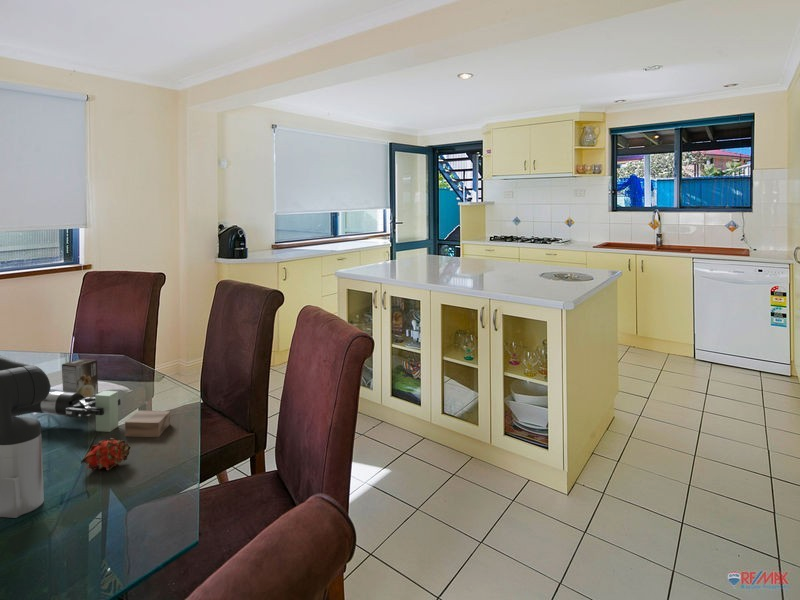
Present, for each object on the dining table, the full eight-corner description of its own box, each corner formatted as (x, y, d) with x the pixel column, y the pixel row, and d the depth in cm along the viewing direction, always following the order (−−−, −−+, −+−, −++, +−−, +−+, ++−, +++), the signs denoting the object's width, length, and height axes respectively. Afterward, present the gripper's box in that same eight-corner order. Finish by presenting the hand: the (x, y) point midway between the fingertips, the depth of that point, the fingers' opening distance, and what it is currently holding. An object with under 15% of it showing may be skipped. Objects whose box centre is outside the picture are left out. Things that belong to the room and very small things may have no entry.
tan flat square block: (158, 437, 152) (158, 422, 151) (125, 437, 151) (125, 422, 150) (170, 425, 162) (170, 411, 161) (139, 424, 160) (138, 410, 160)
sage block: (109, 431, 153) (109, 396, 151) (96, 430, 153) (95, 395, 151) (118, 426, 157) (117, 391, 156) (104, 425, 157) (104, 390, 156)
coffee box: (84, 399, 178) (83, 357, 176) (98, 401, 177) (98, 359, 175) (62, 407, 169) (61, 363, 167) (77, 410, 168) (76, 366, 166)
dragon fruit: (135, 466, 136) (86, 485, 128) (125, 442, 139) (77, 459, 132) (135, 451, 131) (85, 470, 123) (125, 426, 134) (75, 443, 126)
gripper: (45, 399, 147) (97, 403, 147) (77, 385, 161) (124, 388, 161) (46, 423, 148) (98, 426, 148) (77, 406, 162) (125, 409, 162)
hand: (111, 406), depth 154 cm, fingers open, 8 cm apart
